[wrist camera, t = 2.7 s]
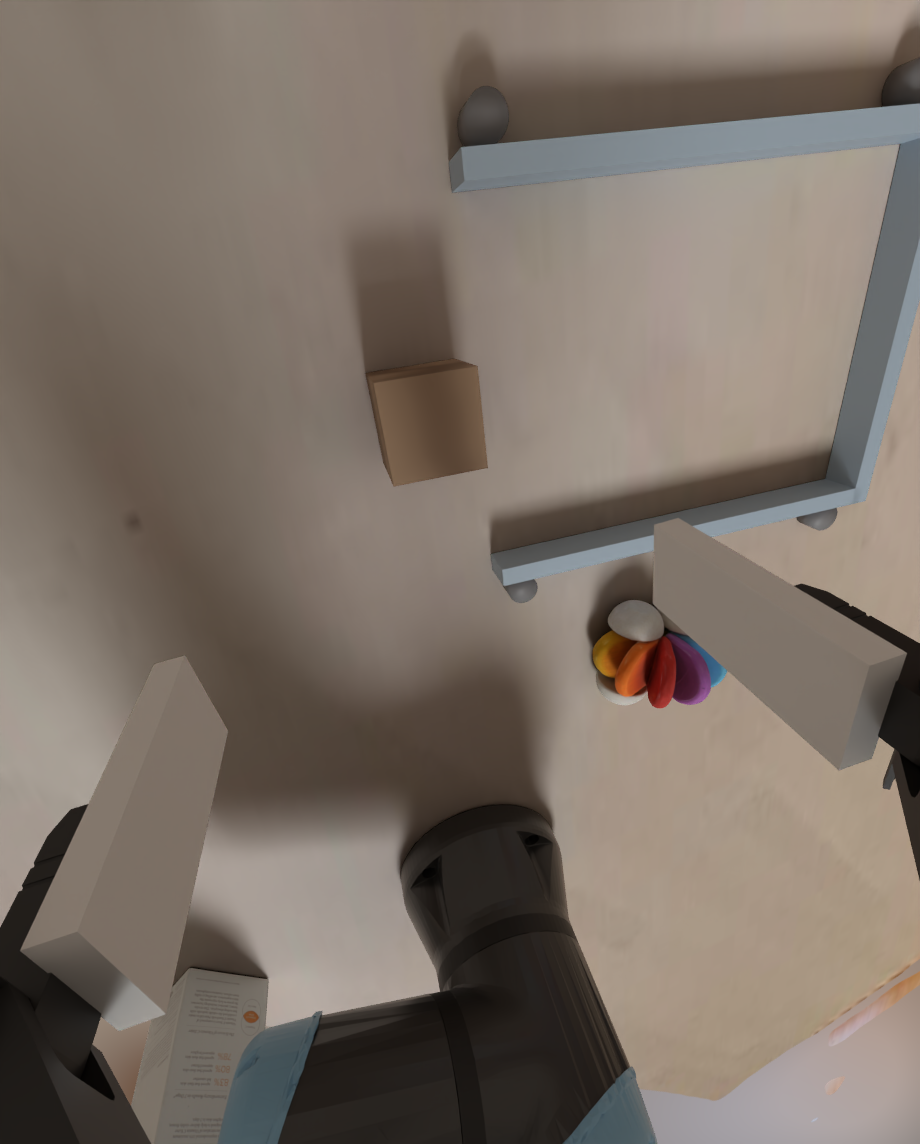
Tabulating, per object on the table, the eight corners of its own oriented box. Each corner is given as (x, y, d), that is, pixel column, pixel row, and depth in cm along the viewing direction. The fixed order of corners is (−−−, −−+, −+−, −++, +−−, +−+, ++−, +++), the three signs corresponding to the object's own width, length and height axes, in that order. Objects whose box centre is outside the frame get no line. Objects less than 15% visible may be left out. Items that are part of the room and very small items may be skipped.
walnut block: (383, 462, 30) (393, 486, 26) (365, 372, 28) (373, 382, 23) (464, 446, 31) (487, 467, 27) (453, 358, 29) (477, 366, 24)
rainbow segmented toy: (591, 595, 38) (645, 650, 32) (702, 585, 41) (772, 634, 34) (576, 685, 42) (621, 750, 36) (678, 671, 44) (738, 730, 38)
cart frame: (495, 596, 36) (506, 614, 34) (442, 102, 23) (454, 80, 21) (829, 516, 40) (857, 528, 38) (936, 62, 28) (989, 40, 26)
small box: (153, 1005, 47) (100, 1224, 36) (189, 964, 46) (146, 1178, 34) (235, 1015, 51) (210, 1216, 39) (271, 977, 49) (256, 1174, 38)
